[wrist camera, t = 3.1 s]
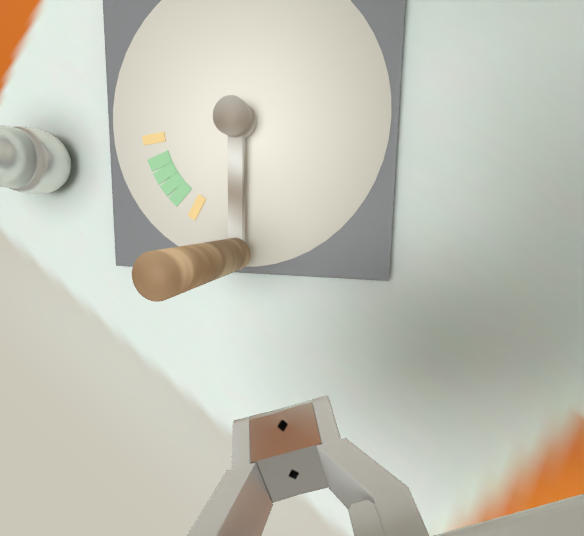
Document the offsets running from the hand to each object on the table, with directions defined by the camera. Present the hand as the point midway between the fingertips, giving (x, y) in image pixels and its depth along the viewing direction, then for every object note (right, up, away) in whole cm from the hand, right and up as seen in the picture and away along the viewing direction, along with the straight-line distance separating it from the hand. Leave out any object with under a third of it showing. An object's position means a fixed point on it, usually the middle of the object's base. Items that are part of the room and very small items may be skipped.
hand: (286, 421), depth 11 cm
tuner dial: (-4, +18, +24) cm, 30 cm away
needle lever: (-5, +12, +23) cm, 26 cm away
